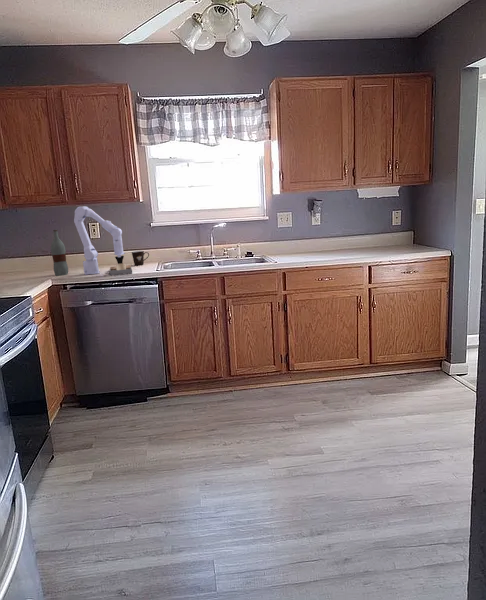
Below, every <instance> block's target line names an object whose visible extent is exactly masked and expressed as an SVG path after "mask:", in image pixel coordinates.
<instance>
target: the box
mask: <svg viewBox="0 0 486 600" xmlns="http://www.w3.org/2000/svg"><path fill="white" fill-rule="evenodd" d="M132 268H133V267H132V266H131V269H124V270H113V271H111V269H110V268H109V276H119V275H120V276H121V275H131V274H133V269H132Z"/></svg>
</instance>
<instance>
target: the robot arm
mask: <svg viewBox="0 0 486 600" xmlns="http://www.w3.org/2000/svg"><path fill="white" fill-rule="evenodd" d="M87 217H88V218H92V219H93V220H95V221H96V222H97V223H99V224H100V225H101V228H103V229H104V230H105V231H107V232H108V233H109V234H110V235H111V236H112V242H113V252H114V253H113V255H114V258H115V260H116V262H117V264H121V263H124V261H123V260H124V258H125V256H124V255H125V254H126V252H124V247H123V246H124V245H123V238H122V237H123V236H122V235H123V230H122V229H121V228H120V227H118V226H117V225H115V224H113V223H112V221H111V220H107V219H106V220H105V219H103V218H102V216H100V215H99V214H98V213H97V212H95V211H94V210H93V209H91V208H90V207H89V206H86V205H84V206H83V205H82V206H81V205H80V206H78V207H76V209H75V210H74V219H73V222H74V225H75V227H76V231H77V233H78V235H79V238H80V241H81V243H82V245H83V254H84V256H83V257H84V259H85V260H83V261H82V265H83V273H84V275H85V276H86V275H97V274H100V272H101V271H100V270H99V262H98V257H99V252H98V251H97V250H96V248H95V246H94V245H93V243H92V241H91V239H90V236H89V234H88V232H87V229H86V226H85V223H84V221H85V219H86V218H87Z"/></svg>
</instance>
